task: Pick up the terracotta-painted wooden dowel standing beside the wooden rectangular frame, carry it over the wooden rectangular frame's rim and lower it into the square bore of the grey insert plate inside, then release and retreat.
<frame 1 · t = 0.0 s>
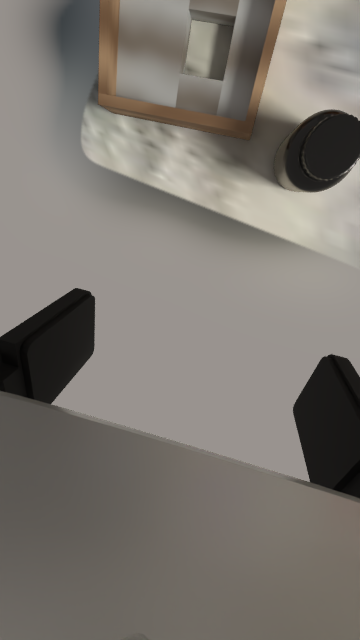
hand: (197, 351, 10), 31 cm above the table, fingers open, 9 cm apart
wooden rectangular frame: (191, 51, 29), on the table
supplement bottle: (301, 160, 32), on the table
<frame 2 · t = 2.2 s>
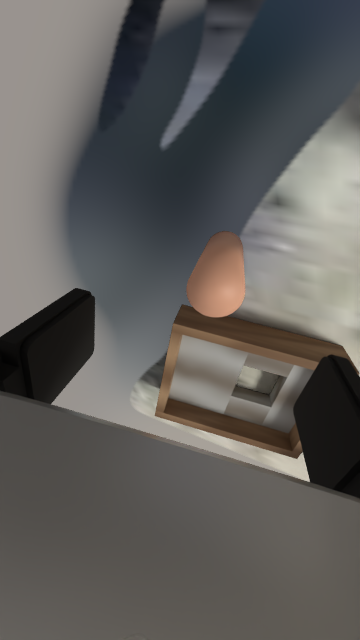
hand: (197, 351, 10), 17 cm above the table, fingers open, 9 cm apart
wooden rectangular frame: (241, 371, 32), on the table
peg: (224, 250, 25), on the table
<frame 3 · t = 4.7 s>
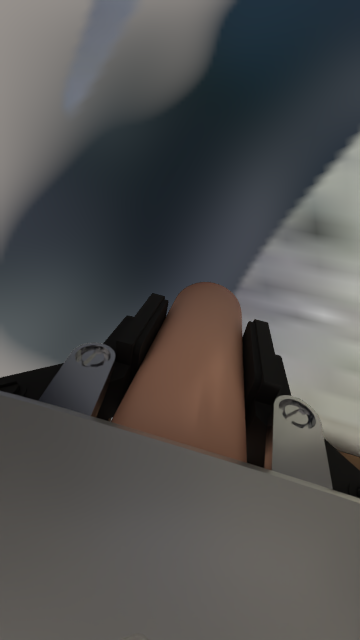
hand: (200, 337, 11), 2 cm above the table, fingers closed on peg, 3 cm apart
peg: (206, 314, 13), on the table, touching gripper
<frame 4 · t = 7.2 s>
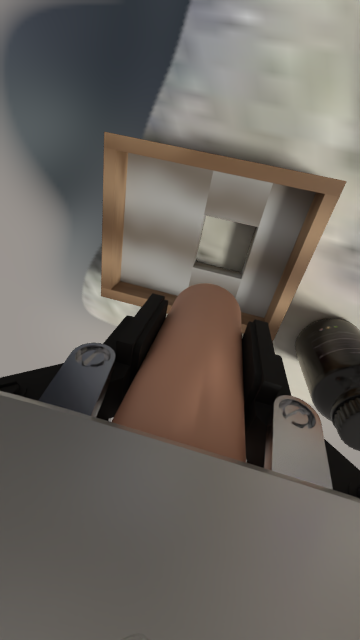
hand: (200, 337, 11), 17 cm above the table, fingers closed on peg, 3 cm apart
wooden rectangular frame: (205, 239, 26), on the table
supplement bottle: (326, 341, 29), on the table
peg: (205, 316, 13), point 15 cm above the table, touching gripper
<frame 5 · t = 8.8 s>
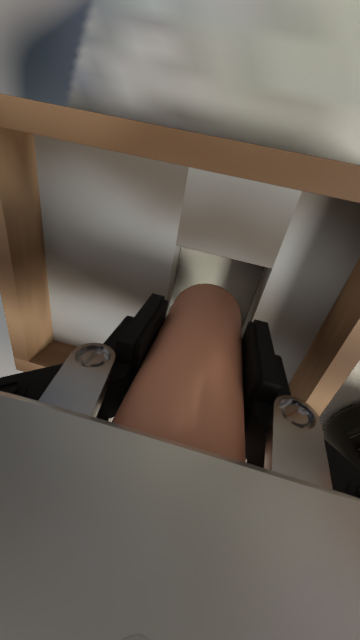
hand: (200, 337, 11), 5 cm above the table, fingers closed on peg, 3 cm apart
wooden rectangular frame: (183, 279, 16), on the table
peg: (205, 316, 13), point 3 cm above the table, touching gripper
when the fingers open (4 cm above the table, at t = 9.8 s): peg drops 1 cm, resting in wooden rectangular frame.
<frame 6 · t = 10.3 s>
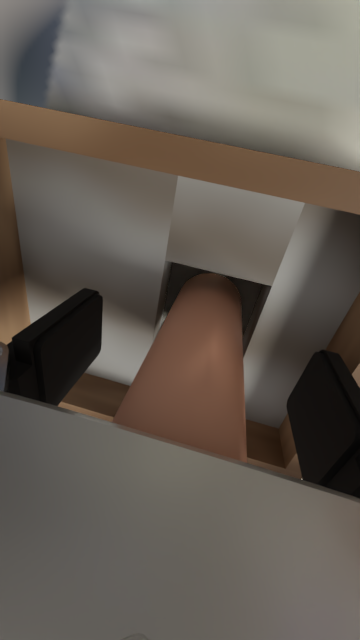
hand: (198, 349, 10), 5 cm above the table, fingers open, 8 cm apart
wooden rectangular frame: (175, 294, 15), on the table
peg: (208, 303, 15), resting in wooden rectangular frame
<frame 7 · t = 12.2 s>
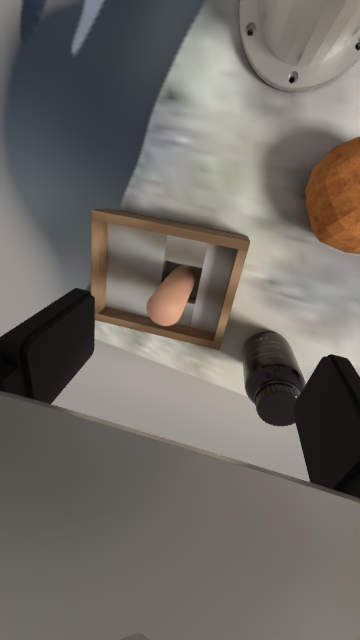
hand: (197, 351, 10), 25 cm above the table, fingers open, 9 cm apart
wooden rectangular frame: (168, 275, 35), on the table
supplement bottle: (265, 349, 37), on the table
potato: (344, 201, 28), on the table
peg: (182, 278, 35), resting in wooden rectangular frame
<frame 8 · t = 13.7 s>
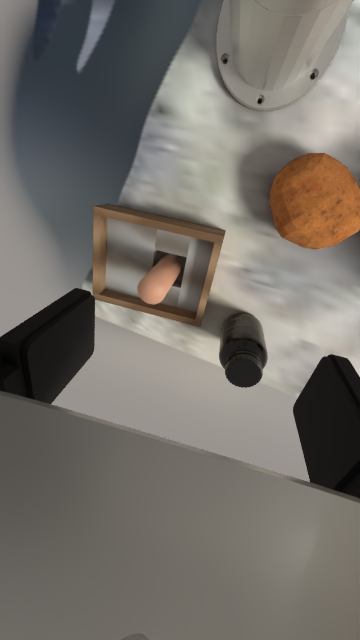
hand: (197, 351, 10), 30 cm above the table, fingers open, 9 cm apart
wooden rectangular frame: (159, 262, 41), on the table
supplement bottle: (241, 328, 44), on the table
potato: (305, 203, 33), on the table
peg: (171, 265, 41), resting in wooden rectangular frame
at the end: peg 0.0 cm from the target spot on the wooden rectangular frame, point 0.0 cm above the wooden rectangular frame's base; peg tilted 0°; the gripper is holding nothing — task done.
